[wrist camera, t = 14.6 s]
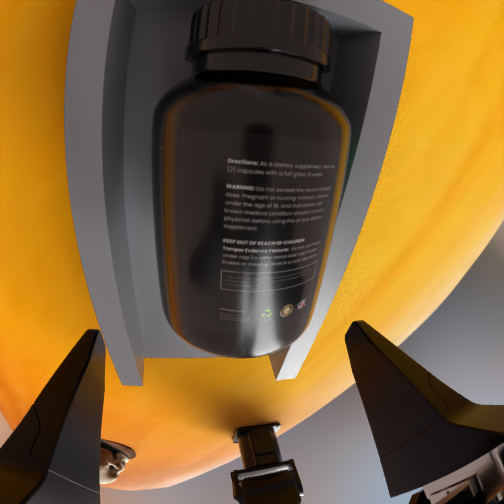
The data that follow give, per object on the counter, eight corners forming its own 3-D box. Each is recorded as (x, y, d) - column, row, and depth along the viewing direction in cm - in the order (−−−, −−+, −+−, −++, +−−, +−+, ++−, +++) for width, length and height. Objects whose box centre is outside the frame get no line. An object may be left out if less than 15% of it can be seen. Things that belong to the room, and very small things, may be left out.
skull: (153, 458, 38) (128, 494, 33) (122, 430, 44) (99, 463, 39) (108, 443, 31) (80, 484, 25) (79, 408, 37) (54, 446, 31)
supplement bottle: (322, 288, 15) (363, 51, 9) (287, 388, 9) (358, -19, 3) (208, 256, 17) (220, 43, 11) (132, 325, 11) (119, 10, 5)
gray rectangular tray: (280, 347, 24) (293, 386, 20) (127, 351, 21) (123, 394, 17) (368, 18, 10) (418, 11, 7) (111, -19, 7) (83, -46, 4)
